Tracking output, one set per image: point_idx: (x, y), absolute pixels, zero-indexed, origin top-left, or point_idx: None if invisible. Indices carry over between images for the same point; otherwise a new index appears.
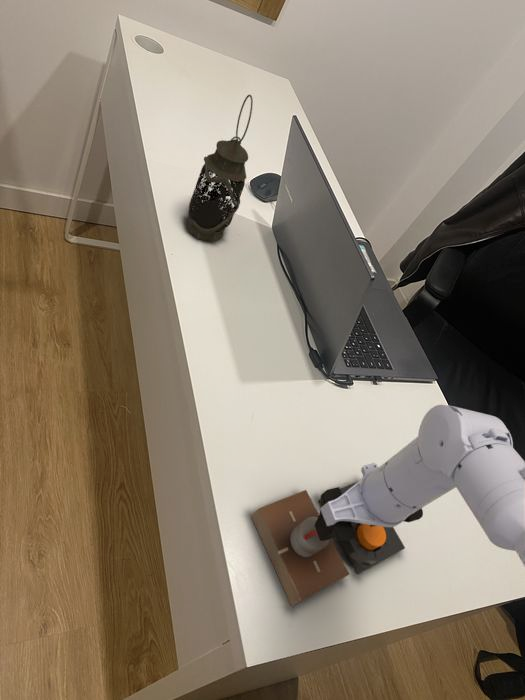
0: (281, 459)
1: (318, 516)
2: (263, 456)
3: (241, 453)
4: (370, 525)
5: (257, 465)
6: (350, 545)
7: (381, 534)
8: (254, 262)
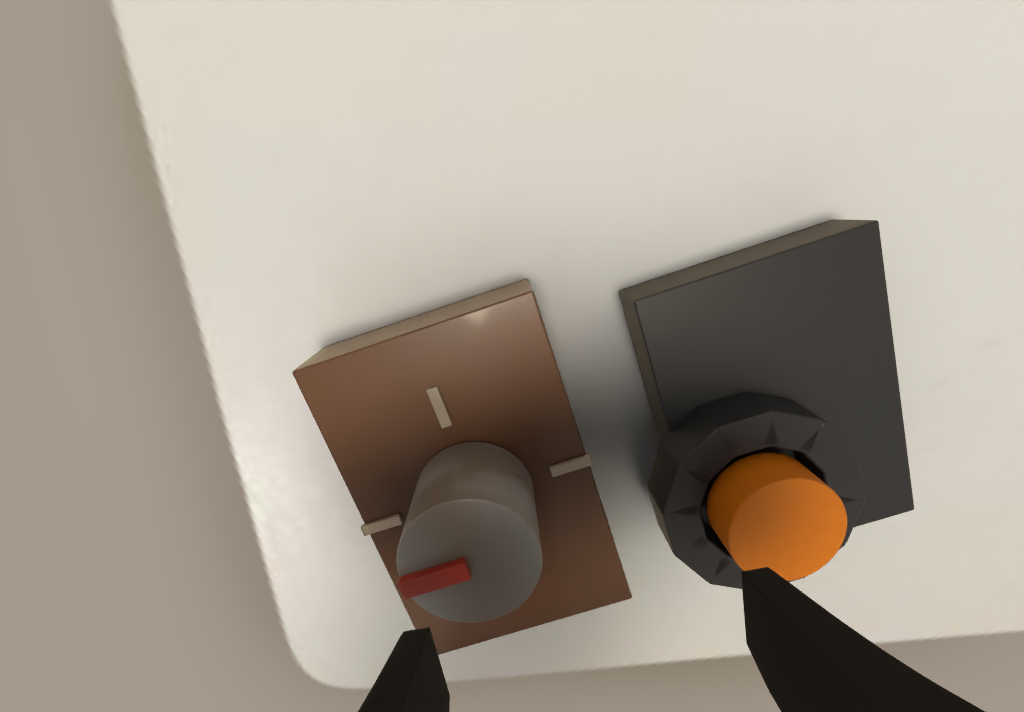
0: (485, 98)
1: (366, 698)
2: (397, 83)
3: (289, 68)
4: (748, 643)
5: (364, 131)
6: (665, 528)
7: (820, 539)
8: None
